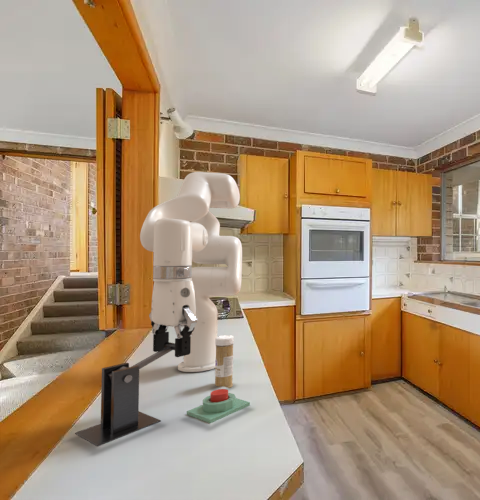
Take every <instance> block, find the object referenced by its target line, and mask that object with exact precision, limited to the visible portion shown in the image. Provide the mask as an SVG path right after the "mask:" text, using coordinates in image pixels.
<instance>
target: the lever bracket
mask: <svg viewBox="0 0 480 500" xmlns="http://www.w3.org/2000/svg"><path fill="white" fill-rule="evenodd" d="M123 366H124V367H127V368H125V369H121V370H117V369H119V368H121V367H123ZM132 366H133V365H132ZM132 366H130V363H129V362H123V363H119V364H115V365H114V364H113V365H110V366H104V367H102V368H101V387H100V388H101V389H100V390H101V393H100V394H101V395H100V423H98V424H96V425H93V426H90V427H87V428H84V429H82V430H79V431H76V432H74V434H75V435H77V436H78V437H79V438H82V439H84V440H85V441H87V442H89V443H90V444H92V445H94V446H96V447H99V446H103V445H105V444H108V443H110V442H112V441H114V440H118V439H121V438H123V437H125V436H128V435H130V434H133V433H135V432H138V431H140V430H143V429H146V428H147V427H150V426H153V425H156V424H158V423H160V422H162V420H161V419H159V418H157V417H154V416H151V415H149V414H147V413H144V412H141V411H139V405H140V404H139V403H140V400H139V399H140V369H139V366H133V367H132ZM115 370H116V371H115ZM110 373H112V383H111V380H110V378H109V375H108V374H110Z"/></svg>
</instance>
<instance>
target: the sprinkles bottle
mask: <svg viewBox="0 0 480 500" xmlns="http://www.w3.org/2000/svg"><path fill="white" fill-rule="evenodd" d="M234 344H235V337H234V335H230V334H227V335H225V334H223V335H219V336H218V335H217V337H216V338H215V345H216V361H215V368H214V376H215V377H214V386H216V387H220V388H221V387H223V388H226V389H227V388H228V389H231V388H232V387H233V386H234V383H233V374H234Z"/></svg>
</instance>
